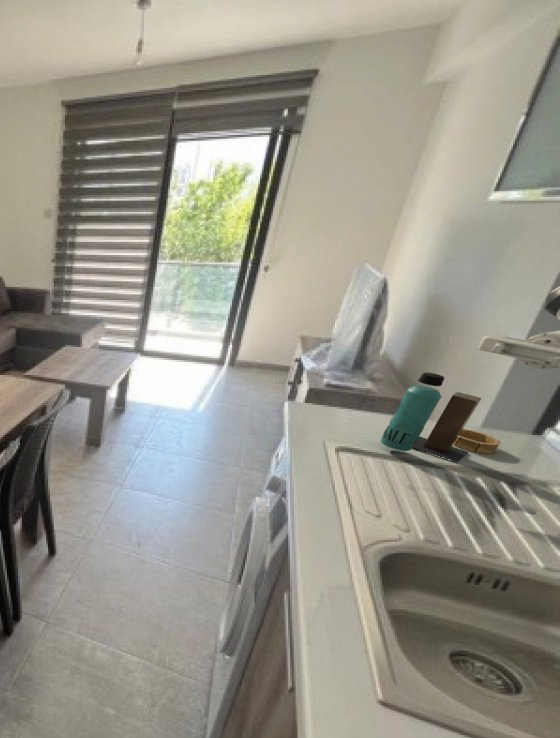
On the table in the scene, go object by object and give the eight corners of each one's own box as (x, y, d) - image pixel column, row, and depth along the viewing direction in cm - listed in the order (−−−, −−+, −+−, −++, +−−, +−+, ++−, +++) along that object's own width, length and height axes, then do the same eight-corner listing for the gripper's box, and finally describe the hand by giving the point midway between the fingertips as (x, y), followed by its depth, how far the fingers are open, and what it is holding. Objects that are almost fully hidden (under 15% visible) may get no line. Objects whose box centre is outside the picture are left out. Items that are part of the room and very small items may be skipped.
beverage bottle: (407, 449, 120) (449, 373, 111) (411, 459, 115) (456, 381, 106) (375, 441, 123) (413, 367, 114) (378, 451, 118) (418, 375, 109)
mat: (467, 453, 120) (468, 451, 120) (456, 463, 115) (457, 462, 114) (417, 437, 127) (418, 436, 127) (405, 446, 122) (406, 445, 121)
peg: (450, 449, 120) (481, 397, 114) (445, 453, 118) (477, 401, 111) (428, 442, 123) (457, 391, 117) (422, 446, 121) (452, 395, 114)
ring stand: (498, 447, 123) (503, 439, 122) (489, 457, 118) (495, 448, 117) (450, 433, 130) (455, 425, 129) (440, 441, 125) (446, 433, 124)
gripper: (499, 327, 127) (475, 331, 121) (616, 349, 110) (593, 354, 105) (486, 351, 130) (461, 355, 124) (597, 375, 113) (575, 381, 108)
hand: (523, 355), depth 114 cm, fingers open, 8 cm apart
